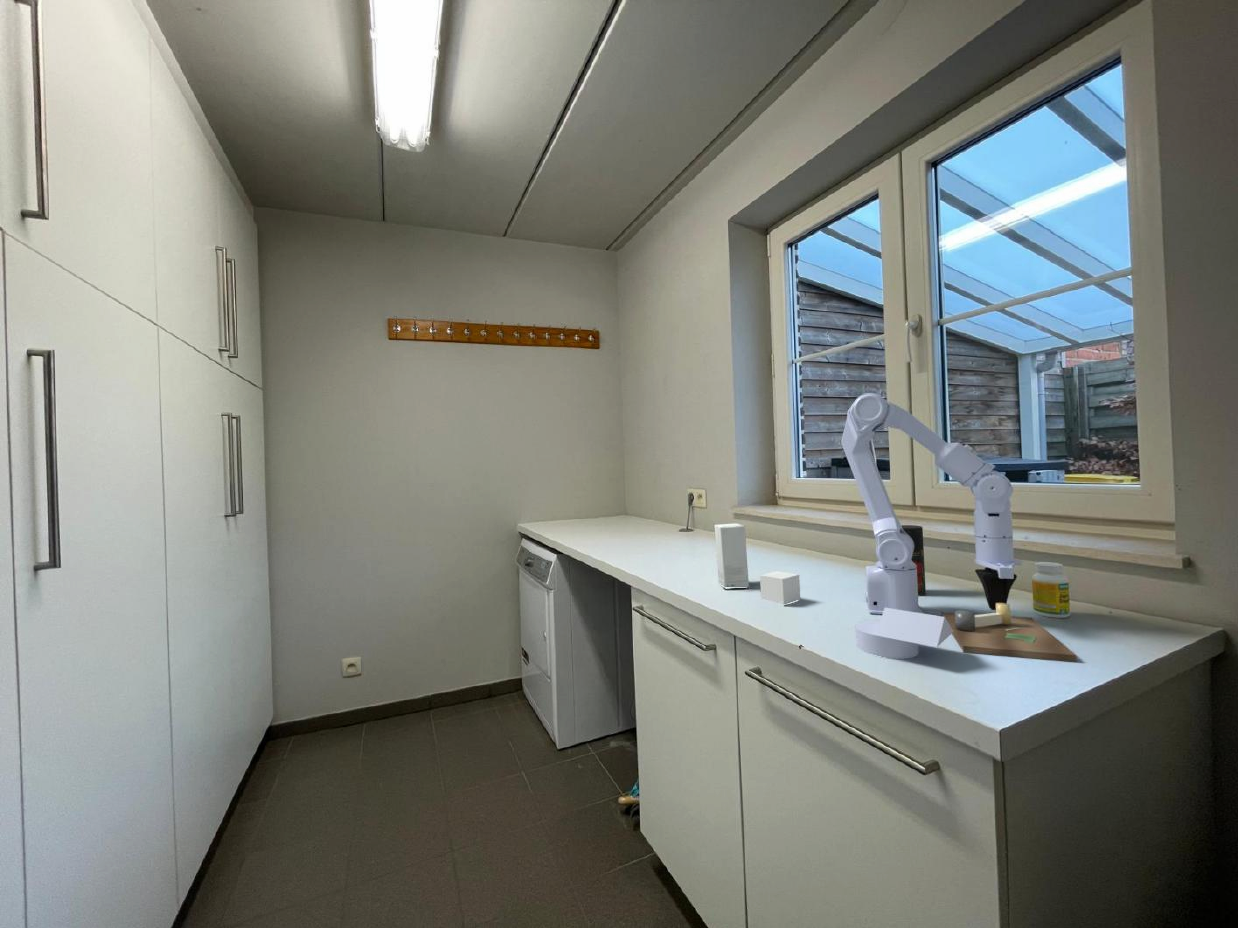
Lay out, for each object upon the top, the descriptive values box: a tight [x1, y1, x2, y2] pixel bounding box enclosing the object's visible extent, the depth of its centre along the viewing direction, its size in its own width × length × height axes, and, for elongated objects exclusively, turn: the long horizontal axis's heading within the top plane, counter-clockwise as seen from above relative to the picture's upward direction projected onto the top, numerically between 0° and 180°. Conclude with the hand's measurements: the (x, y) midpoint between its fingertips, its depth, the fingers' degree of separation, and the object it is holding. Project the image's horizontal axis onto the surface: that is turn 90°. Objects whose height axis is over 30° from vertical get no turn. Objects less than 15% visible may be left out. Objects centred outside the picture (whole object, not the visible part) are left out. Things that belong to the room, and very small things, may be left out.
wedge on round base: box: [855, 608, 954, 660], centre depth 82 cm, size 9×7×13 cm
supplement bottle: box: [1031, 561, 1071, 619], centre depth 97 cm, size 5×5×10 cm
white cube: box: [759, 570, 801, 605], centre depth 115 cm, size 6×6×6 cm
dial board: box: [940, 611, 1078, 663], centre depth 87 cm, size 14×19×1 cm
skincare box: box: [714, 523, 750, 588], centre depth 131 cm, size 8×7×16 cm
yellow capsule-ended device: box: [954, 603, 1012, 631], centre depth 89 cm, size 10×3×3 cm, turn 102°
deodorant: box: [901, 524, 927, 597], centre depth 117 cm, size 6×6×15 cm
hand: (997, 609), depth 95 cm, fingers closed
